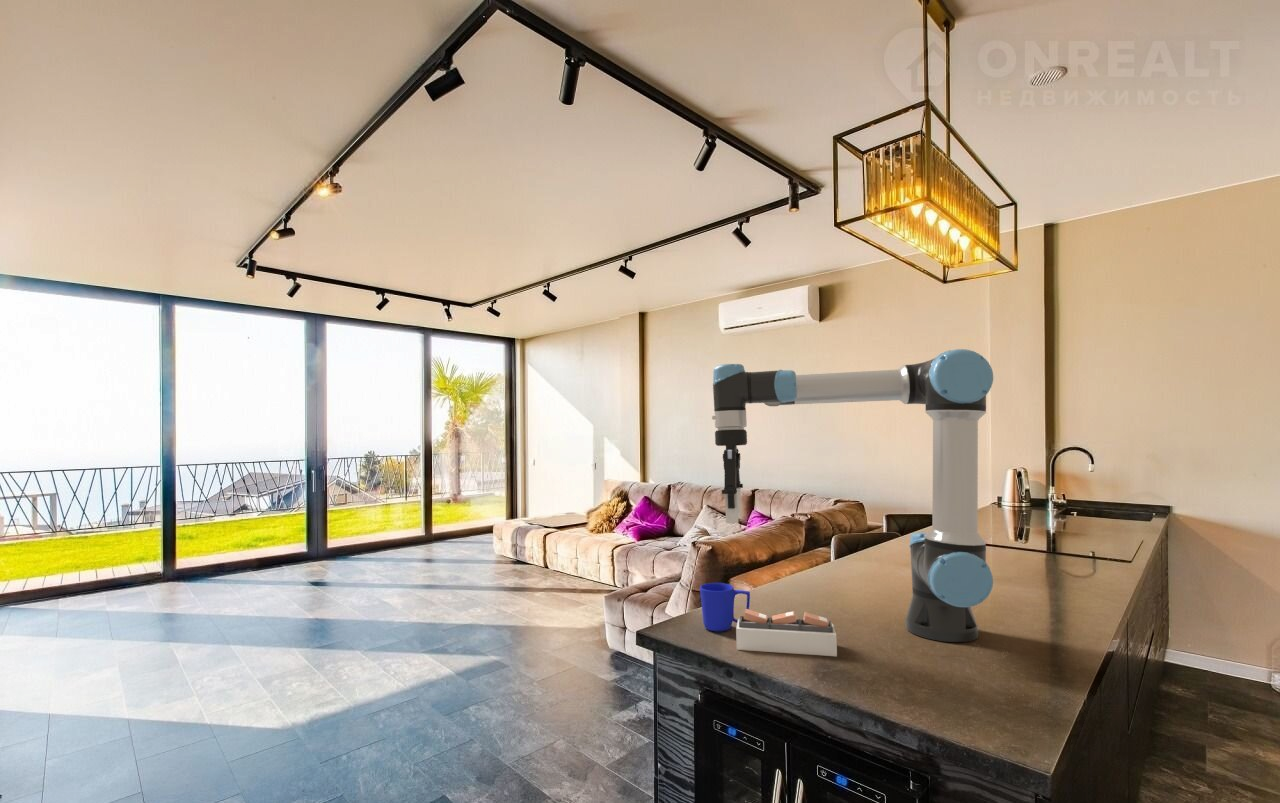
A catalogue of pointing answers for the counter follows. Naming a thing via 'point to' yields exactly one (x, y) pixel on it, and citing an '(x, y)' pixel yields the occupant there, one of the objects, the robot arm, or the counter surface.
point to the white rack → (786, 637)
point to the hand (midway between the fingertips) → (734, 519)
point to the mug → (719, 605)
